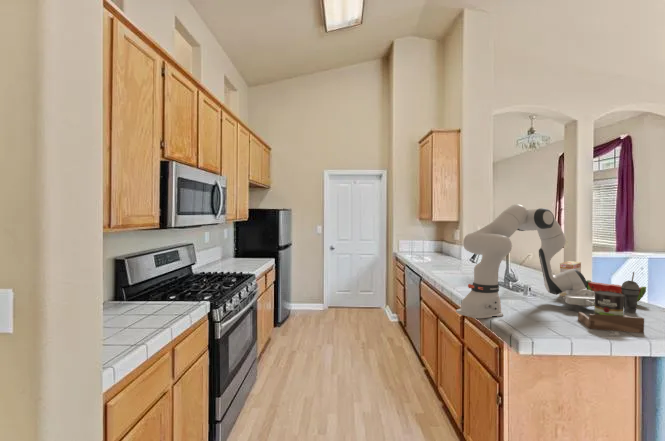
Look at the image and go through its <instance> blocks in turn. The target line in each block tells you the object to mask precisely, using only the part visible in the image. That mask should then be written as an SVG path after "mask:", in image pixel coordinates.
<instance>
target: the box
mask: <svg viewBox="0 0 665 441" xmlns="http://www.w3.org/2000/svg"><path fill="white" fill-rule="evenodd" d="M577 312H578V314H577V320H578V321H579V322H581V323H582V324H583V325H585V326H586V327H587V328H589V330H600V331H612V332H613V331H614V332H626V333H638V334H639V333H641V334H644V333H645V318H644V317H641V316H640V317H639V316H629V315H628V314H623V316H613V315H599V314H594V313H589V314H588V315H587V314H585V313H584V312H582V311H577Z"/></svg>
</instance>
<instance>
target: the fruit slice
mask: <svg viewBox="0 0 665 441" xmlns="http://www.w3.org/2000/svg"><path fill="white" fill-rule="evenodd" d="M586 282H587V287H586V288H585V289H587V290H591V291H608V292H615V293H620V294H622V289H621V287H622V284H621V285H620V284H613V283H610V284H609V283H602V282H595V281H591V280H589V279H587V280H586ZM639 289H640V290H639V294H638V300H637V303H638V302H639V301H641V299H642V298H643V297H644V296H645V294H646V292H647V286H639Z"/></svg>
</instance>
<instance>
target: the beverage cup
mask: <svg viewBox="0 0 665 441" xmlns="http://www.w3.org/2000/svg"><path fill="white" fill-rule="evenodd" d="M634 277H635V271H633V272H632V276H631V280H626V281H624V282H622V284H621V286H622V287H621V289H622V294H623V295H624V305H623V313H624V312H625V313H627V312H629V313H628V314H636V313H637V307H638V302H637V300H638V294H639V290H640V289H639V287H640V286H639V284H638V283H637V282H635V281H634Z"/></svg>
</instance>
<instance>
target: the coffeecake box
mask: <svg viewBox="0 0 665 441" xmlns="http://www.w3.org/2000/svg"><path fill="white" fill-rule="evenodd" d="M569 269H576V270H578V271H579V272H581V273H582V262H581V261H575V260H574V261H573V260H568V261H564V262H560V263H559V273H561V272H564V271H566V270H569ZM565 295H567V294H566V291H564V292H562V293H560V294H559V296H560V297H562V296H565Z"/></svg>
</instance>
